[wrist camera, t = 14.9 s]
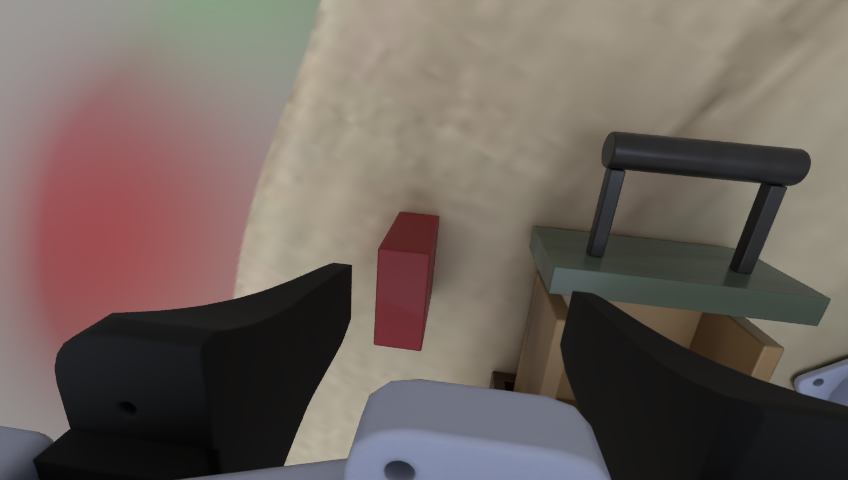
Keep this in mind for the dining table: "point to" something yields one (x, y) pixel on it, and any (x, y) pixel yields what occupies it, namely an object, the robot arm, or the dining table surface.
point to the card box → (405, 281)
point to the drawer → (671, 266)
